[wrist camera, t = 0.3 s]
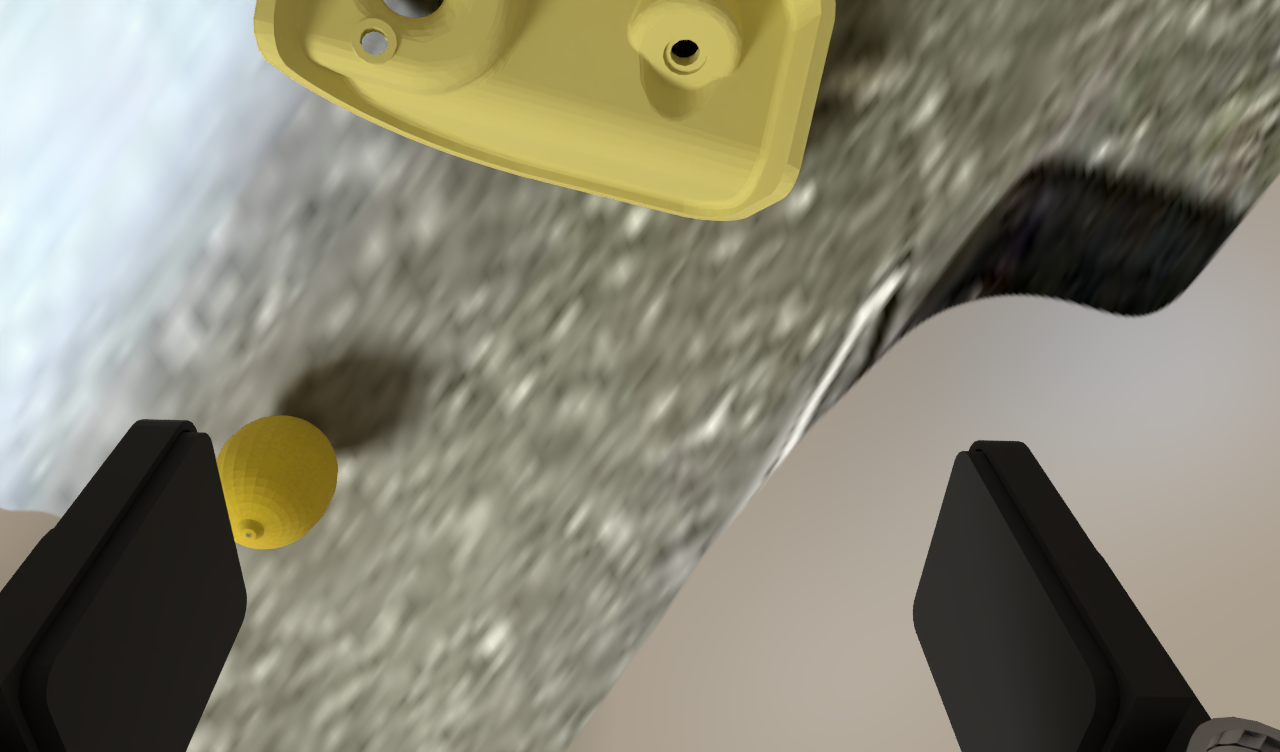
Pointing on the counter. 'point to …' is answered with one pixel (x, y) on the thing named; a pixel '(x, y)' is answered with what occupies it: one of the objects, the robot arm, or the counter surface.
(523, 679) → the counter surface
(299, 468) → the lemon
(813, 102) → the plastic component
